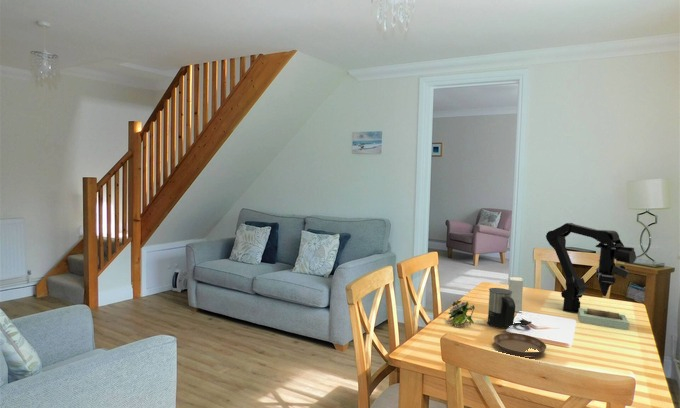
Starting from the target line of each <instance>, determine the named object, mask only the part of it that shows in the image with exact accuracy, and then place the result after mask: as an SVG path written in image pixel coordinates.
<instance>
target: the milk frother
mask: <svg viewBox="0 0 680 408" xmlns="http://www.w3.org/2000/svg"><path fill="white" fill-rule="evenodd" d="M488 291H489V295H488V296H489V297H488V312H487V321H486V324H487V325H488V326H490V327H492V328H496V329H509V328H510V327H512V325H515V326H522V325H525V326H527V325H531V324H532V321H528V320H525V319H520V320H519V322H521V323H515V322H514V321H515V315H516V312H515V302H514V300H513V299H512V298H511V294H512V291H510V290H509V288H508V289H507V288H501V287H490V288H488ZM513 323H514V324H513ZM509 326H510V327H509ZM508 327H509V328H508Z"/></svg>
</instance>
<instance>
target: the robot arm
mask: <svg viewBox="0 0 680 408" xmlns="http://www.w3.org/2000/svg"><path fill="white" fill-rule="evenodd" d="M571 233H573V234H576V235H581V236H584V237H589V238H592V239H594V240H596V241H597V242H598V244H596V245H595V248H600V253H599V259H598V267H597V268H596V269H595V270H596V271H595V275H596V278H597V281H598V284H599V287H600V292H601V295H602V296H603V297H607V294H608V291H609V289H610V287H611V286H612V285H613V284H614V285H615V283H616V280H617V279H616V276H620V277H621V278H622V279H627V277H628V276H629V274H630V272H629V270H627V269H626V266H624V265H623V264H620V265H616V262H620V263H625V264H629V265H630V264H631V265H632V264H633V265H634V264H635V261H636V259H637V255H636V251H635V247H632V246H631V247H630V246H625V245H624V243H623V242H622V240H621V238H620V235H619V233H618V232H617V231H616V230H608V229H596V228H593V227H592V228H591V227H588V226H584V225H580V224H576V223H575V224H574V223H572V222H567V223H564V224H563V225H561V226H559V227H557V228H555V229H553V230H549V231H548V232H547V233H546V235H545V238H546V241H547V242H548V244H549V246H551V247H552V248H553V250H554V251H555V253H556V256H557V259H558V261H559V263H560V266H561V268H562V271H563V274H564V277H565V288H566V289H564V290H563V291H561V293H560V295H561V298H563V303H562V304H563V306H562V311H563V312H570V313H575V314H578V312H579V308H581V301H580V299H582V297H583V296H584V295H585V294H586V292H587V287H588V286H587V285H586V282H585V279H584V277H582V278H581V277H579V276H578V274H577V272H576V270H575V267H574V265H573V263H572V259H571V257H570V255H569V253H568V250H567V248H566V243H567V242H566V241H567V240H566V237H568V236H570V234H571ZM615 260H616V262H615ZM615 275H616V276H615Z"/></svg>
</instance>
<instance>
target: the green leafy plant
mask: <svg viewBox="0 0 680 408" xmlns="http://www.w3.org/2000/svg"><path fill="white" fill-rule="evenodd" d="M475 309H476V308H475V304H472V305H470V303H469V301H467V300H466V301H465V302H464V301H463V302H462V300H457V301H453V303H452V308H450V309H449V312H448V315H449V317H448V319H451V325H452V326H457V325H463V324H464V323H465V322H466V321H468V322H469V325H471V324H474V323H475V322H474V320H473V319H472V316H473V313H474V310H475ZM469 311H471V312H470V313H471V314H470V315H468V314H467V313H468V312H469Z"/></svg>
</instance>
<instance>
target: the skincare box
mask: <svg viewBox="0 0 680 408" xmlns="http://www.w3.org/2000/svg"><path fill="white" fill-rule="evenodd" d="M508 278H509V279H508V290H510V291H512V294H511V298H512V299H513V300H514V302H515V313H519V311H522V312H523V293H524V292H523V291H524V290H523V289H524V288H523V287H524V280H523V278H522V277H517V276H516V277H515V276H509V277H508Z"/></svg>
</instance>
